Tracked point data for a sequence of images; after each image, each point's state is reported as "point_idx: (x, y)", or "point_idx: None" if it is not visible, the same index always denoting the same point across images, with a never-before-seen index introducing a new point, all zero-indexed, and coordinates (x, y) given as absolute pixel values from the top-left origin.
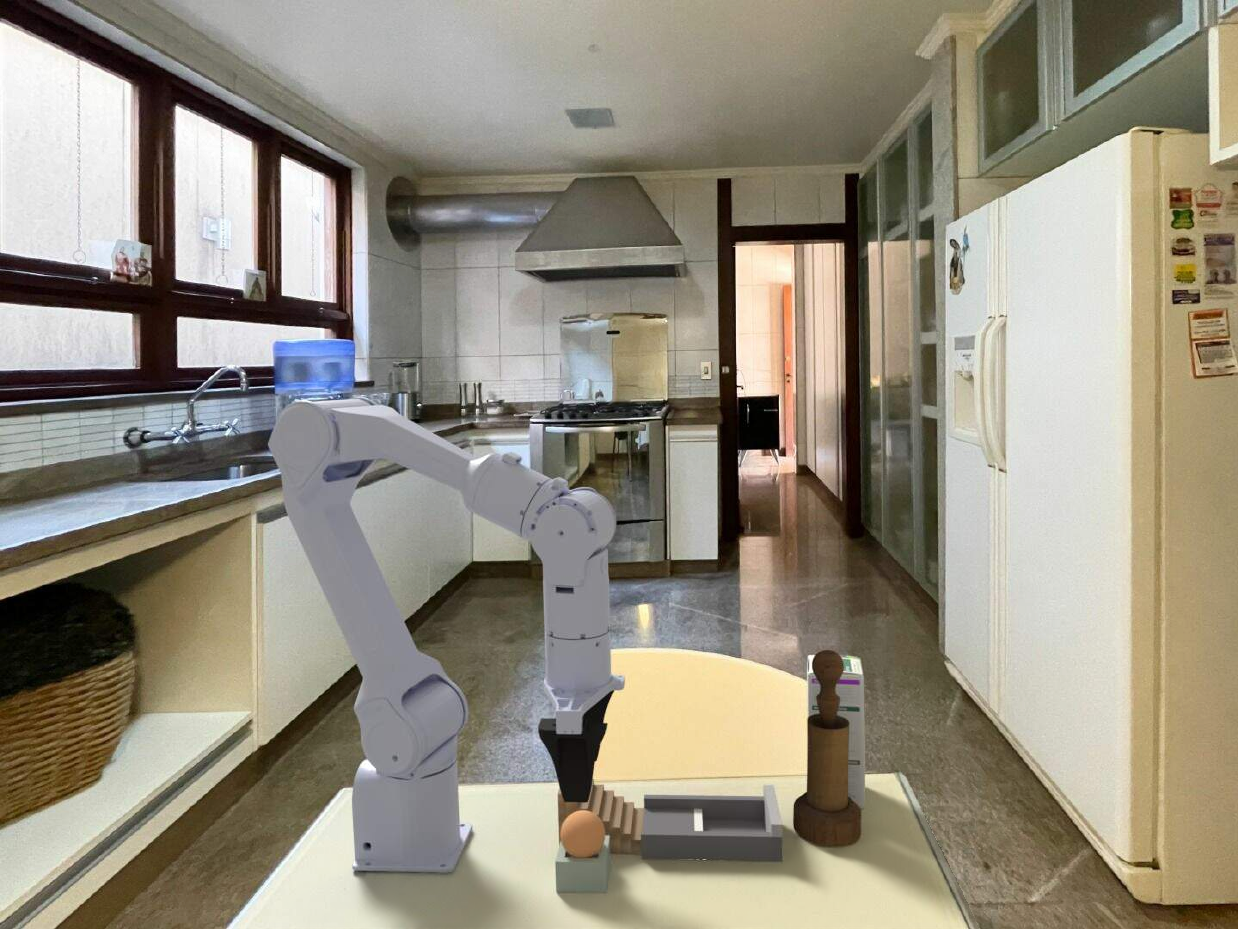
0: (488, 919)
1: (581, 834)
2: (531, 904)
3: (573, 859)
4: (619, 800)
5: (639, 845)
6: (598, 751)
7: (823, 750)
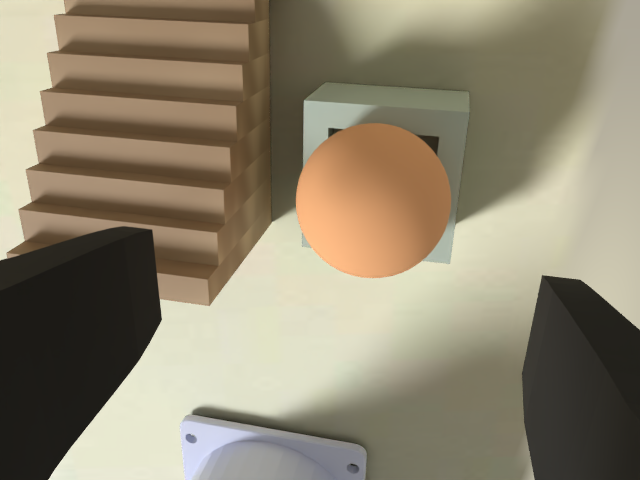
0: None
1: (438, 218)
2: (498, 282)
3: None
4: (76, 68)
5: None
6: (126, 241)
7: None
